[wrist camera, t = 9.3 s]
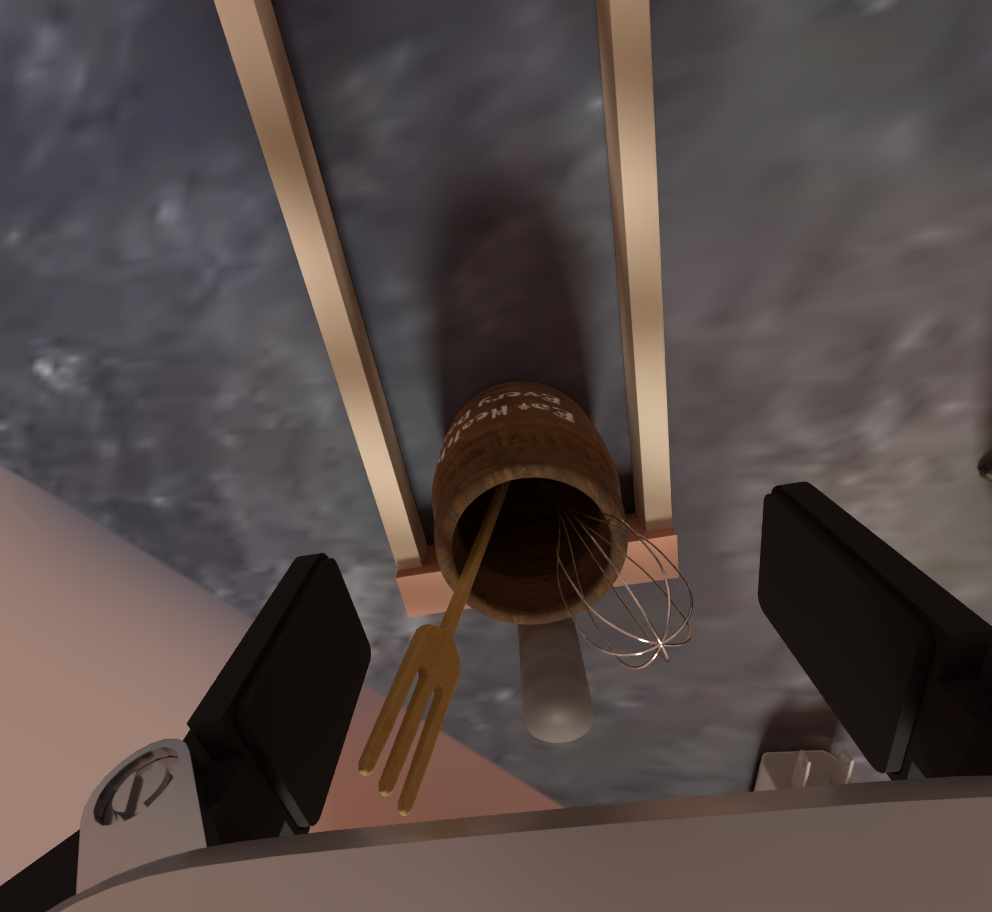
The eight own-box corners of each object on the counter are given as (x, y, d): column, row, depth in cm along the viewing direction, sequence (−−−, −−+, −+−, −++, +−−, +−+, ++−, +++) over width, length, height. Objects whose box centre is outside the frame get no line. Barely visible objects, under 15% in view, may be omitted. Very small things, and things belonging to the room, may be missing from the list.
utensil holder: (618, 476, 19) (790, 783, 8) (482, 538, 20) (464, 881, 9) (556, 346, 17) (671, 511, 6) (409, 424, 18) (270, 684, 7)
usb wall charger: (745, 801, 27) (784, 886, 23) (763, 719, 24) (810, 800, 21) (814, 798, 27) (864, 884, 23) (840, 715, 24) (902, 796, 21)
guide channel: (214, -64, 13) (-7, -320, 7) (622, -171, 12) (734, -553, 6) (431, 636, 22) (410, 761, 17) (664, 602, 21) (723, 722, 16)
